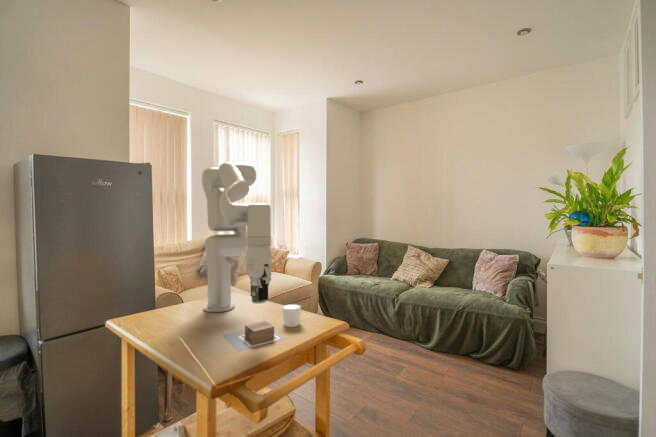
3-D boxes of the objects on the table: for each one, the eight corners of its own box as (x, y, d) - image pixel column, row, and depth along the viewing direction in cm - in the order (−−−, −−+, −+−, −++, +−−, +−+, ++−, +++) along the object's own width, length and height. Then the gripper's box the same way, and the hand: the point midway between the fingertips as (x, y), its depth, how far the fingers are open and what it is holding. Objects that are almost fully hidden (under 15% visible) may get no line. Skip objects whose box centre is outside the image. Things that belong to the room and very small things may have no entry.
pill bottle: (251, 300, 104) (251, 274, 104) (266, 299, 105) (266, 274, 105) (251, 304, 99) (251, 277, 99) (267, 303, 101) (267, 276, 100)
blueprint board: (221, 337, 105) (221, 335, 105) (266, 326, 114) (266, 324, 114) (239, 353, 93) (239, 350, 93) (286, 340, 102) (286, 337, 102)
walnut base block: (244, 337, 103) (244, 325, 103) (264, 332, 108) (264, 320, 107) (253, 344, 98) (253, 331, 98) (274, 338, 102) (274, 326, 102)
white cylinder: (300, 329, 112) (300, 309, 112) (280, 329, 112) (280, 309, 112) (301, 322, 119) (301, 303, 119) (283, 322, 119) (283, 303, 119)
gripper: (237, 240, 107) (238, 294, 107) (259, 244, 93) (260, 306, 93) (258, 239, 111) (258, 291, 111) (282, 243, 98) (282, 302, 98)
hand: (259, 297), depth 102 cm, fingers closed on pill bottle, 4 cm apart
